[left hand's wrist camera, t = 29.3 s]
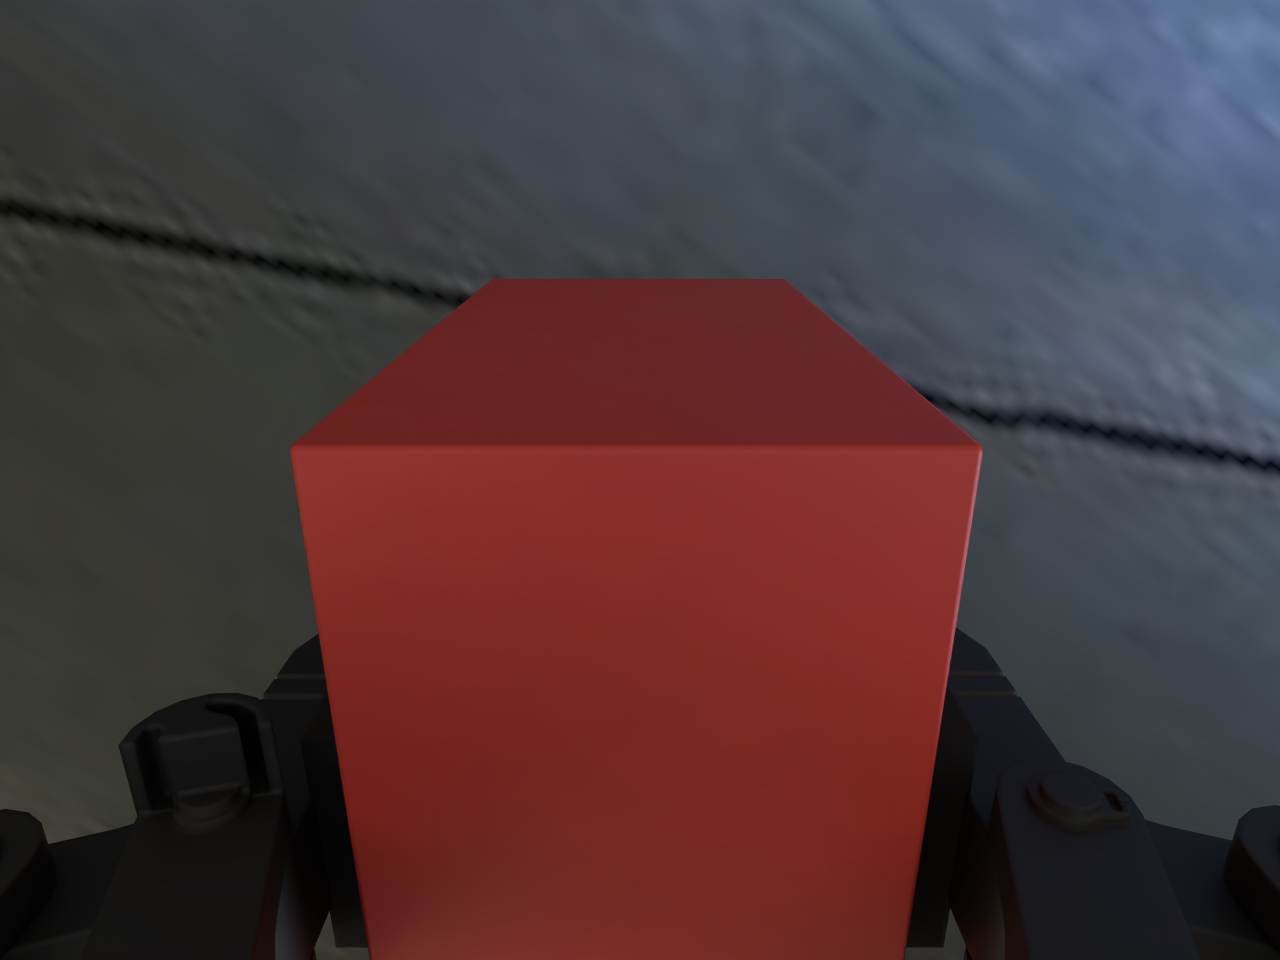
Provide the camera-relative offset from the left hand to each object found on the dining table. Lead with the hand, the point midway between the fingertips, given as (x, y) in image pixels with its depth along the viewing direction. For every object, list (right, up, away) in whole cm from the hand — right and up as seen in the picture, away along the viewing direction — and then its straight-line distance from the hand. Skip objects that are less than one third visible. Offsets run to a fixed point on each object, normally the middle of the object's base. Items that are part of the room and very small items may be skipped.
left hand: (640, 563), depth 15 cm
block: (0, +1, +1) cm, 2 cm away
